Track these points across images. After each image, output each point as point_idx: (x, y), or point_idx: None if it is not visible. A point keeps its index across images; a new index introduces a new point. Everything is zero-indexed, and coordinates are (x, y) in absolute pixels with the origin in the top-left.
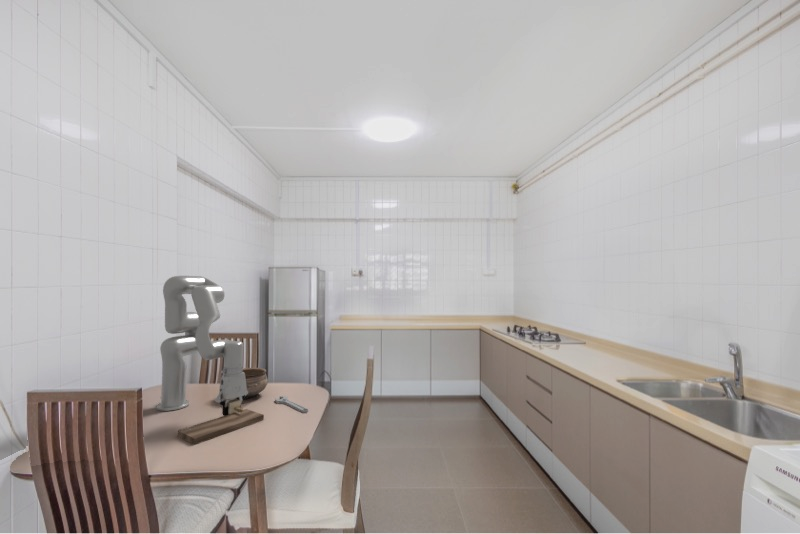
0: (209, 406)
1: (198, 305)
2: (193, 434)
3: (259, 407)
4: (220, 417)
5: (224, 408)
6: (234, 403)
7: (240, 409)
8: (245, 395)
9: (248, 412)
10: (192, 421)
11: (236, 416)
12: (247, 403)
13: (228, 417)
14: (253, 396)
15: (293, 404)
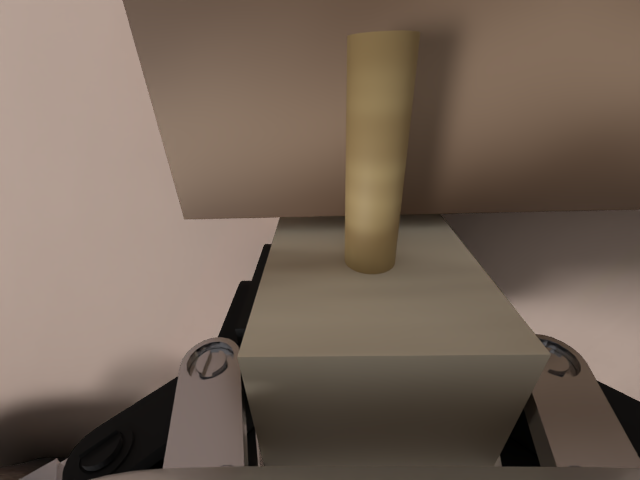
0: None
1: None
2: None
3: (17, 253)
4: (622, 199)
5: None
6: (413, 327)
7: (404, 57)
8: (53, 472)
9: (227, 23)
10: (611, 377)
11: (496, 8)
12: (107, 398)
13: (591, 92)
14: (29, 461)
15: None
